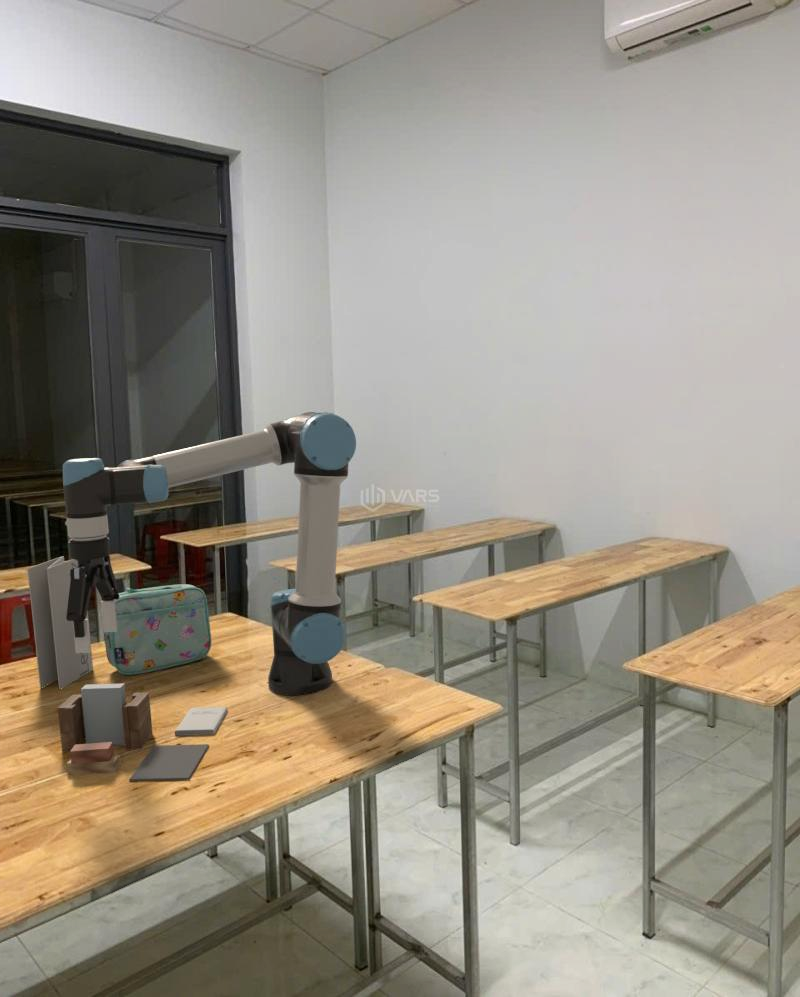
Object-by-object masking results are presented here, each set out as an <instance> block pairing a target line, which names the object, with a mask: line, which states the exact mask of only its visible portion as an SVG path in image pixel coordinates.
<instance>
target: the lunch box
mask: <svg viewBox="0 0 800 997" xmlns="http://www.w3.org/2000/svg"><path fill="white" fill-rule="evenodd" d="M118 594H119V599H114V600H115V609H116V622H117V631H116V632H103V634H104V646H105V653H106V654H105V655H106V658H107V661H108V663H109V664H110V665H111V666H112V667H114V668H115V669H116V671H117V672H118V673H119V674H122V675H125V676H126V675H127V676H128V675H141V674H146V673H151V672H156V671H159V670H164V669H165V670H166V669H169V668H173V667H177V666H180V665H186V664H189V663H193V662H195V661H198V660H201V659H203V658H205V657H206V656H207V655H209V652H210V651H211V648H212V633H211V624H210V616H209V615H210V614H209V607H208V598H207V596H206V593H205V591H204V590H203V589H201V588H199V587H196V586H195V585H192V584H187V583H186V584H185V583H183V584H181V583H180V584H179V583H178V584H171V585H169V584H168V585H161V586H153V587H146V588H141V589H140V588H138V589H133V588H130V587H126V591H123V592H119V593H118Z"/></svg>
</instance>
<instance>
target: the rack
mask: <svg viewBox="0 0 800 997" xmlns="http://www.w3.org/2000/svg"><path fill="white" fill-rule="evenodd" d="M131 698H132V701H130V702H128V703H127V702H126V703H125V704H124V705H123V706H122V715H123V726H124V737H125V745H124V746H125V751H131V750H141V749H142V748H143V747H145V745H146V743H147V742H148V741H149V739H150V738H151V737H152V735H153V724H152V712H151V701H150V700H151V699H150V692H134V693H133V694H132V695H131ZM57 714H58V716H57V717H58V725H59V735H60V744H61V751H62V752H68V751H69V752H70V751H71V749H72V748H73V747H74V745H77V744H81V742H82V741H83V740H86V736H85V726H84V715H83V705H82V695H81V694H72V695H70V696H69V697H68V698H67V699H66V700H65V701H64V702H63V703H62V704H60V705H59V706H58V707H57Z"/></svg>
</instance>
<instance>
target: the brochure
mask: <svg viewBox="0 0 800 997" xmlns="http://www.w3.org/2000/svg"><path fill="white" fill-rule="evenodd" d="M71 568H78V561H77V560H76V559H75V560H74V559H72V558H71V559H69V560H67V561H65V556H64V555H63V556H59V557H56V558H53V559H51V560H47V561H44V562H42V563H39V564H35V565H34V566H30V567H28V568H27V578H28V586H29V587H28V588H29V597H30V606H31V607H30V608H31V615H32V623H33V624H32V625H33V626H32V627H33V633H34V643H35V654H36V664H37V674H38V683H39V689H40V688H42V687H44V686H46V685H47V684H49V683H51V682H53V681H54V682H56V681H58V690H59V689H61V688H63V687H64V688H66V687H67V685H68V684H69V685H71V684H73V683H74V682H75V680H76V681H77V680H79V679H80V677H81V676H82V677H84V676H85V675H84V674H86V673H87V674H89V673H90V672H92V671H94V665H93V664H94V663H93V655H92V653H93V652H92V651H91V652H90V653H76V652H75V640H74V629H73V621H67V619H66V615H67V607H68V598H69V590H70V581H71V578H70V570H71ZM86 619H88V620H89V611H88V610H87V615H86ZM89 633H90V634H91V631H90V630H89ZM90 645H91V646H92V643H91V640H90ZM91 670H92V671H91ZM89 671H90V672H89ZM88 672H89V673H88ZM87 674H86V675H87ZM83 675H84V676H83ZM82 677H81V678H82ZM78 678H79V679H78ZM56 679H58V680H56ZM55 680H56V681H55ZM73 681H74V682H73ZM54 682H53V683H54ZM72 682H73V683H72ZM70 683H71V684H70ZM51 684H52V683H51ZM49 685H50V684H49ZM69 685H68V686H69ZM47 686H48V685H47ZM47 686H46V687H47ZM65 686H66V687H65ZM44 688H45V687H44ZM64 688H63V689H64ZM42 689H43V688H42ZM61 690H62V689H61Z"/></svg>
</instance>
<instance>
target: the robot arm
mask: <svg viewBox="0 0 800 997" xmlns="http://www.w3.org/2000/svg"><path fill="white" fill-rule="evenodd" d="M356 449H357V437H356V434H355V431H354V429H353V427H352V426H351V425H350V423H349V422H348V421H347V420H346V419H344V418H342V417H341V416H339V415H337V414H334V413H332V412H327V411H326V412H316V411H315V412H314V411H309V412H304V413H300V414H296V415H295V416H293V417H290V418H289V417H288V418H286V419H284V420H280V421H276V422H273V423H269V424H266V427H265V428H264V429H263V430H262V429H261V430H258V431H254V432H249V433H245V434H241V435H237V436H232V437H228V438H224V439H220V440H215V441H212V442H207V443H203V444H198V445H195V446H190V447H187V448H182V449H178V450H173V451H168V452H164V453H161V454H160V453H159V454H156V455H152V456H147V457H143V458H139V459H128V460H124V461H122V462H121V463H120V464H118V466H117V467H107V466H106V467H105V465H104V462H103V459H102V458H99V457H92V458H88V457H85V458H73V459H68V460H66V461H65V462H63V464H62V484H63V485H62V487H63V497H64V504H65V505H64V506H65V515H66V521H65V522H64V524H65V526H66V527H67V536H68V537H69V538H70V539H69V540H68V551H69V552H68V554H69V558H70V559H71V560H72V559H74V560H75V559H76V560H77V561H78V568H71V570H70V578H71V581H70V590H69V598H68V607H67V615H66V619H67V621H73V629H74V640H75V652H76V653H90V652H92V644H91V645H90V641H91V632H90V633H89V631H90V622H89V618H88V619H86V615H87V610H88V609H89V605H90V601H91V600H90V599H91V596H92V591H93V590H94V589H95V588H96V589H97V592H98V593H99V595H100V597H101V599H102V600H101V601H100V611H101V612H100V613H101V623H102V633H104V632H116V631H117V622H116V609H115V600H114V599H119V593H120V590H119V586H118V584H117V580H116V577H115V574H114V570H113V568H112V563H111V558H110V556H111V555H110V553H111V548H110V546H111V544H110V538H109V537H108V536H107V535H108V534H109V533H110V529H109V521H108V511H107V506H117V505H130V504H131V505H133V504H135V505H136V504H148V503H149V504H152V503H153V504H154V503H157V502H164V501H166V500H167V499H168V497H169V488H174V487H176V486H182V485H186V484H189V483H194V482H198V481H202V480H206V479H210V478H215V477H218V476H223V475H226V474H230V473H235V472H239V471H243V470H248V469H253V468H256V467H259V466H263V465H268V464H275V465H276V466H282V465H286V464H292V463H293V464H294V465H293V466H294V467H293V473H294V474H293V475H294V476H295V477H296V478H297V480H298V481H299V482H300V486H299V487H300V490H299V507H298V509H299V512H298V530H297V548H296V549H297V552H296V571H295V572H296V573H295V574H296V577H295V578H296V579H295V588H288V589H284V590H283V589H281V590H279V591H276V592H273V594H272V595H271V597H270V605H269V608H270V612H271V627H272V642H273V658H272V662H271V666H270V668H269V673H268V676H267V679H268V680H267V681H268V682H267V683H268V689H269V690H270V691H271V692H273V693H275V694H277V695H278V694H279V695H283V696H286V695H287V696H302V695H305V696H306V695H310V694H314V693H318V692H321V691H324V690H326V689H327V688H329V687H330V686H331V685H332V684H333V672H332V670H331V667H330V664H329V661H332V660H333V659H334V658H336V656H337V655H338V654H340V652H341V651H342V649H343V648H344V645H345V642H346V638H347V637H346V633H347V632H346V629H345V626H344V622H343V621H342V620H341V606H342V599H341V598H340V596H339V595H338V594H337V593H336V592H335V591H336V573H337V568H336V567H337V554H338V552H337V551H338V536H339V535H338V534H339V532H338V531H339V519H340V518H339V515H340V514H339V513H340V495H341V484H342V483H343V482H344V481H345V480H346V479H347V478H348V477H349V463H350V462H351V460H352V458H353V457H354V455H355V452H356Z"/></svg>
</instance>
